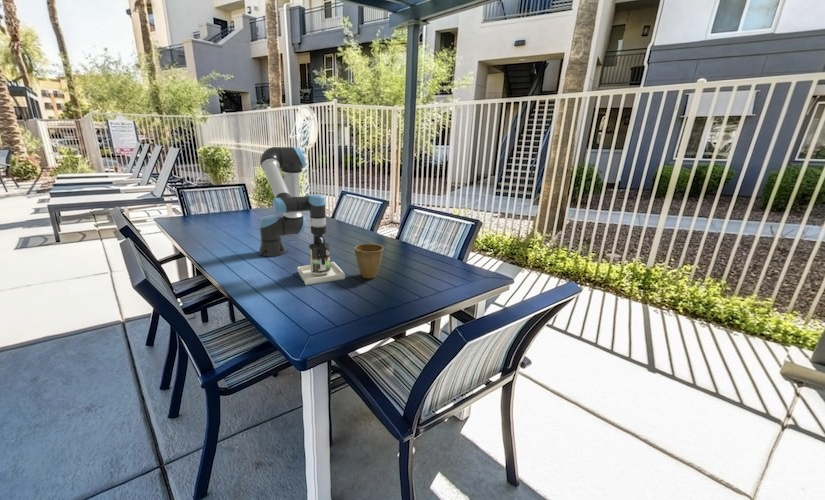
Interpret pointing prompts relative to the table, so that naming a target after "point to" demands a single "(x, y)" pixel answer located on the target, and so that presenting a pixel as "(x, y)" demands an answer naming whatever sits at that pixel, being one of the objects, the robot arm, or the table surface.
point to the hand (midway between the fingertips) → (320, 266)
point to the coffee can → (316, 261)
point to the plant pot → (368, 259)
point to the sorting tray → (320, 278)
